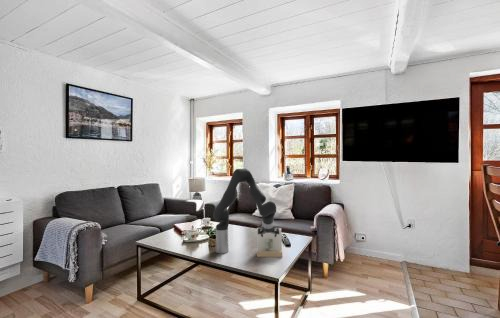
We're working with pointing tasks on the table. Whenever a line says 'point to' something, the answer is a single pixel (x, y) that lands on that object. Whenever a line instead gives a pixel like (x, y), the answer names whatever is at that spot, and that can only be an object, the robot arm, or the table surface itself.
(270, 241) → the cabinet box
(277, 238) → the wall board
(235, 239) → the table surface
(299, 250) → the table surface
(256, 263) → the table surface
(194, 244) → the table surface
